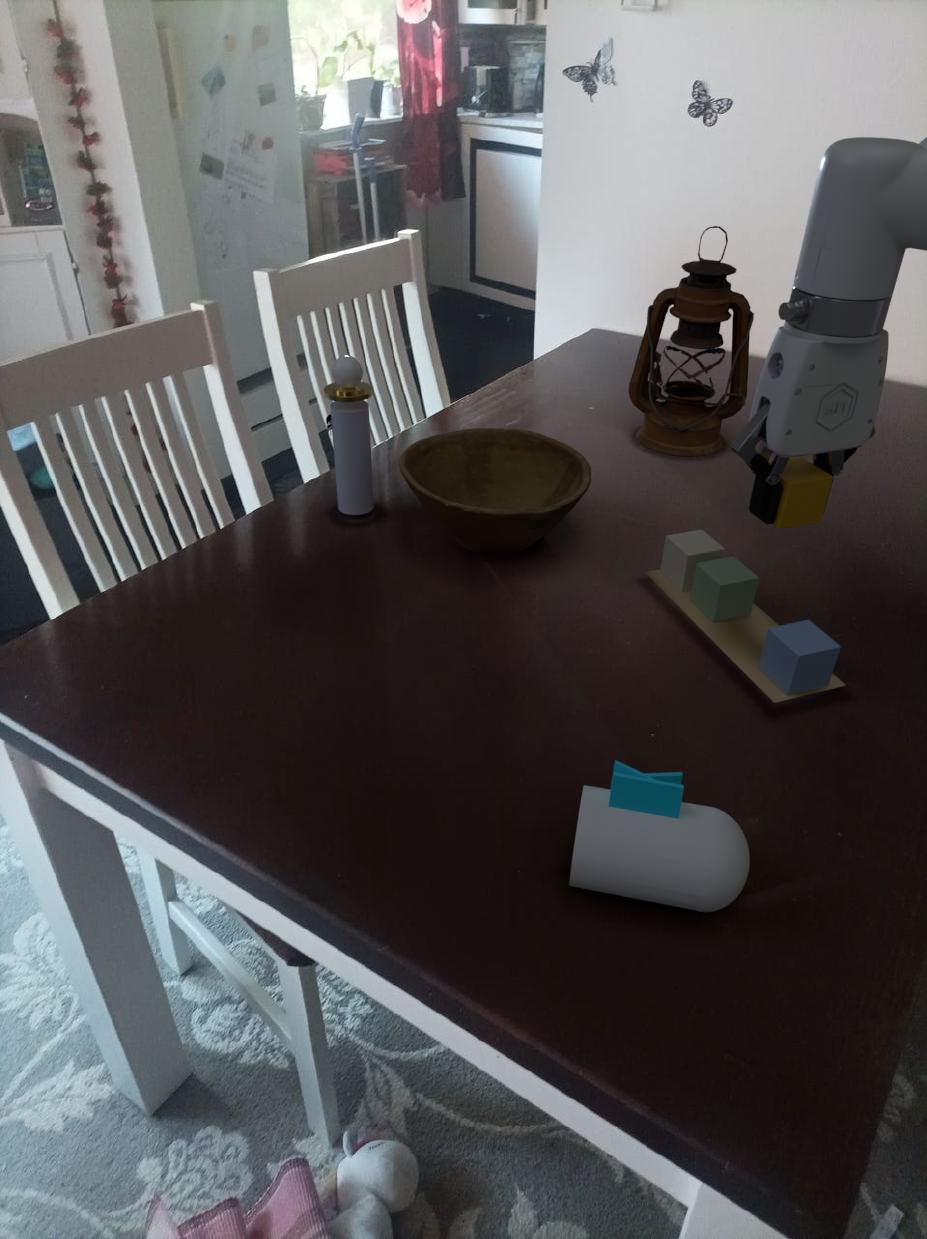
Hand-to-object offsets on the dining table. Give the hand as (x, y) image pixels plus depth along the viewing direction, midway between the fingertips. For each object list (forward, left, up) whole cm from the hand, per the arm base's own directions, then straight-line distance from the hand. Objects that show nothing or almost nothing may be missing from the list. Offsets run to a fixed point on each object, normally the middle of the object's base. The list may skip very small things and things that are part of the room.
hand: (785, 511), depth 81 cm
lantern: (-20, -48, -15) cm, 54 cm away
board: (+1, -2, -15) cm, 15 cm away
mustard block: (0, 0, 0) cm, 0 cm away
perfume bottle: (+32, -40, -15) cm, 53 cm away
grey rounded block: (+24, +22, -15) cm, 36 cm away
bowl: (+18, -28, -15) cm, 36 cm away
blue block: (+1, +7, -14) cm, 16 cm away
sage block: (+1, -5, -14) cm, 15 cm away
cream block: (+1, -11, -14) cm, 18 cm away
